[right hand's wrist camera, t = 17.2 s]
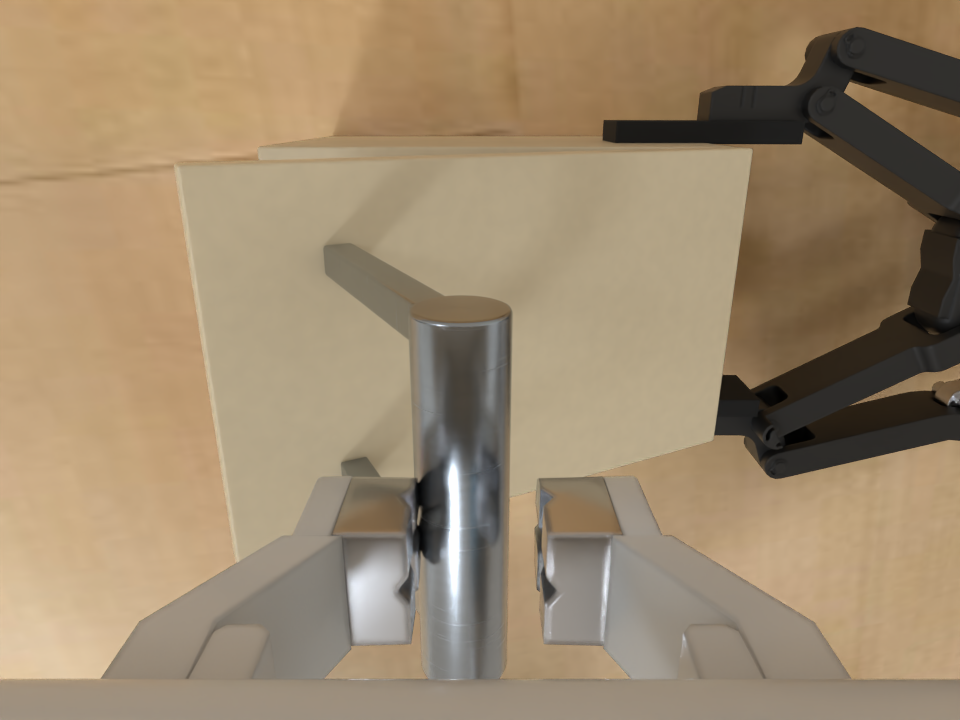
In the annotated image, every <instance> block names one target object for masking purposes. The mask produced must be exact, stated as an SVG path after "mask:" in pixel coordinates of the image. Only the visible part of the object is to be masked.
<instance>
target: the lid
mask: <svg viewBox="0 0 960 720" xmlns="http://www.w3.org/2000/svg"><path fill="white" fill-rule="evenodd" d="M752 154H753V149H751V148H742V147H708V148H673V149H638V150H603V151H568V152H533V153H498V154H463V155H428V156H393V157H358V158H323V159H287V160H252V161H217V162H182V163H176V164H175V165H174V171H175V177H176V184H177V190H178V197H179V203H180V210H181V216H182V222H183V229H184V235H185V242H186V248H187V255H188V261H189V268H190V274H191V281H192V287H193V293H194V300H195V306H196V313H197V319H198V326H199V332H200V339H201V345H202V352H203V358H204V365H205V371H206V377H207V384H208V390H209V397H210V403H211V410H212V416H213V423H214V429H215V436H216V442H217V448H218V455H219V461H220V468H221V474H222V481H223V487H224V494H225V500H226V507H227V513H228V519H229V526H230V532H231V539H232V545H233V552H234V556H235V560H236V563H238V562H239V561H241V560H243V559H244V558H246V557H248V556H249V555H251V554H253V553H254V552H256V551H257V550H259V549H261V548H262V547H264V546H266V545H267V544H269V543H271V542H272V541H274V540H276V539H277V538H279V537H281V536H289V535H292V534H293V532H294V530H295V528H296V525H297V523H298V521H299V519H300V517H301V514H302V512H303V510H304V508H305V505H306V503H307V501H308V499H309V497H310V494H311V492H312V490H313V488H314V485H315V483H316V481H317V479H318V478H320V477H325V476H352V477H405V478H418V487H419V512H418V519H417V524H418V525H419V528H420V535H421V565H420V579H419V588H418V590H417V591H416V592H415V607H416V610H417V612H418V613H419V615H420V633H421V658H422V667H423V671H424V673H425V675H426V676H427V678H428V679H499V678H500V677H501V675H502V674H503V672H504V670H505V667H506V661H507V608H508V551H509V498H511V497H514V496H518V495H522V494H525V493H529V492H532V491H536V486H537V479H538V478H569V477H586V476H589V475H593V474H596V473H600V472H604V471H607V470H611V469H614V468H618V467H621V466H625V465H629V464H632V463H636V462H639V461H643V460H646V459H650V458H654V457H657V456H661V455H664V454H668V453H671V452H675V451H679V450H682V449H686V448H689V447H693V446H696V445H700V444H704V443H707V442H711V441H713V439H714V433H715V425H716V418H717V411H718V403H719V396H720V389H721V381H722V374H723V367H724V359H725V352H726V345H727V337H728V330H729V323H730V315H731V308H732V301H733V293H734V286H735V279H736V271H737V264H738V257H739V249H740V242H741V235H742V227H743V220H744V213H745V205H746V198H747V191H748V183H749V176H750V169H751V161H752Z"/></svg>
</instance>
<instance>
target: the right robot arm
mask: <svg viewBox="0 0 960 720" xmlns="http://www.w3.org/2000/svg"><path fill="white" fill-rule="evenodd" d="M536 510H537V518H538V525H537V526H536V527H535V576H536V586H537V590H538V591H539V592H540V608H539V611H540V619H541V626H542V634H543V642H544V644H559V645H595V646H604V650H605V651H606V652H607V653H608V654H609V655H610V656H611V657H612V658H613V659H614V661H615V662H616V663H617V664H618V665H619V666H620V667H621V668H622V669H623V671H624V672H625V673H626V674H627V675H628V676H629V677H630V678H631V679H324V678H325V677H326V676H327V675H328V674H329V673H330V671H331V670H332V669H333V668H334V667H335V666H336V665H337V664H338V663H339V662H340V661H341V659H342V658H343V657H344V656H345V655H346V654H347V653H348V652H349V651H350V650H351V646H359V645H394V644H411V640H412V633H413V626H414V619H415V611H416V607H415V592H416V591H417V590H418V588H419V579H420V565H421V535H420V528H419V525H418V524H417V519H418V512H419V487H418V478H405V477H352V476H325V477H320V478H318V479H317V481H316V483H315V485H314V488H313V490H312V492H311V494H310V497H309V499H308V501H307V503H306V505H305V508H304V510H303V512H302V514H301V517H300V519H299V521H298V523H297V525H296V528H295V530H294V532H293V534H292V535H289V536H281V537H279V538H277V539H276V540H274V541H272V542H271V543H269V544H267V545H266V546H264V547H262V548H261V549H259V550H257V551H256V552H254V553H253V554H251V555H249V556H248V557H246V558H244V559H243V560H241V561H239V562H238V563H236V564H234V565H233V566H231V567H229V568H228V569H226V570H224V571H223V572H221V573H219V574H218V575H216V576H214V577H213V578H211V579H209V580H208V581H206V582H204V583H203V584H201V585H199V586H198V587H196V588H194V589H193V590H191V591H189V592H188V593H186V594H184V595H183V596H181V597H179V598H178V599H176V600H174V601H173V602H171V603H169V604H168V605H166V606H164V607H163V608H161V609H159V610H158V611H156V612H154V613H153V614H151V615H149V616H148V617H146V618H144V619H143V620H141V621H139V623H138V624H137V626H136V627H135V629H134V630H133V632H132V633H131V635H130V636H129V638H128V639H127V641H126V642H125V644H124V645H123V646H122V648H121V649H120V651H119V652H118V654H117V655H116V657H115V658H114V660H113V661H112V663H111V664H110V666H109V667H108V669H107V670H106V672H105V673H104V674H103V676H102V677H101V679H0V720H960V679H851V677H850V676H849V674H848V673H847V671H846V670H845V668H844V667H843V665H842V664H841V662H840V660H839V659H838V657H837V656H836V654H835V653H834V651H833V650H832V648H831V647H830V645H829V644H828V642H827V641H826V639H825V638H824V636H823V635H822V633H821V632H820V630H819V629H818V627H817V625H816V624H815V623H814V622H813V621H811V620H810V619H808V618H806V617H805V616H803V615H801V614H800V613H798V612H796V611H795V610H793V609H792V608H790V607H788V606H787V605H785V604H783V603H782V602H780V601H778V600H777V599H775V598H774V597H772V596H770V595H769V594H767V593H765V592H764V591H762V590H760V589H759V588H757V587H755V586H754V585H752V584H751V583H749V582H747V581H746V580H744V579H742V578H741V577H739V576H737V575H736V574H734V573H733V572H731V571H729V570H728V569H726V568H724V567H723V566H721V565H719V564H718V563H716V562H714V561H713V560H711V559H710V558H708V557H706V556H705V555H703V554H701V553H700V552H698V551H696V550H695V549H693V548H692V547H690V546H688V545H687V544H685V543H683V542H682V541H680V540H678V539H677V538H675V537H673V536H665V535H662V534H661V531H660V529H659V527H658V525H657V522H656V520H655V518H654V516H653V513H652V511H651V509H650V507H649V504H648V502H647V500H646V498H645V495H644V493H643V491H642V488H641V486H640V484H639V482H638V479H637V478H636V477H634V476H615V477H569V478H538V479H537V486H536Z"/></svg>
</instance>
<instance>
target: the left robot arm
mask: <svg viewBox="0 0 960 720" xmlns="http://www.w3.org/2000/svg"><path fill="white" fill-rule="evenodd" d="M849 82H852V83H855V84H858V85H862V86H865V87H868V88H871V89H874V90H877V91H880V92H883V93H886V94H890V95H893V96H896V97H899V98H902V99H905V100H908V101H911V102H914V103H917V104H921V105H924V106H927V107H930V108H933V109H936V110H939V111H942V112H945V113H948V114H952V115H955V116H958V117H960V59H957V58H954V57H951V56H948V55H945V54H942V53H939V52H935V51H932V50H929V49H926V48H923V47H920V46H917V45H914V44H911V43H908V42H905V41H902V40H899V39H896V38H893V37H890V36H887V35H884V34H881V33H878V32H875V31H872V30H869V29H866V28H861V27H855V28H851V29H847V30H843V31H838V32H834V33H830V34H825V35H821V36H818V37H816V38H814V39H813V40H812V41H811V42H810V43H809V45H808V46H807V48H806V52H805V63H804V65H803V67H802V69H801V72H800V73H799V75H798V76H797V78H796V79H795V80H794V81H793V82H791V83H790V84H788V85H786V86H721V87H714V88H711V89H709V90H706V91H704V92H701V93H700V98H699V107H698V116H697V120H604V124H603V141H608V142H612V143H709V144H802V139H803V132H804V133H806V134H807V135H809V136H810V137H812V138H813V139H815V140H816V141H818V142H819V143H821V144H822V145H824V146H825V147H827V148H828V149H830V150H831V151H833V152H834V153H836V154H837V155H839V156H840V157H842V158H844V159H845V160H847V161H848V162H850V163H851V164H853V165H854V166H856V167H857V168H859V169H860V170H862V171H863V172H865V173H866V174H868V175H869V176H871V177H872V178H874V179H875V180H877V181H878V182H880V183H881V184H883V185H884V186H886V187H888V188H889V189H891V190H892V191H894V192H895V193H897V194H898V195H900V196H901V197H903V198H904V199H906V200H907V201H908V204H909V205H910V206H911V207H913V208H914V209H916V210H917V211H919V212H920V213H922V214H923V215H925V216H926V217H928V218H930V219H931V220H933V221H934V222H936V223H935V225H934V226H933V228H932V230H925V231H924V236H923V240H922V244H921V248H920V250H921V269H920V271H919V273H918V275H917V277H916V279H915V281H914V283H913V285H912V287H911V291H910V295H909V300H908V304H907V305H910V306H911V307H909V308H907V309H905V310H903V311H901V312H899V313H897V314H894V315H892V316H890V317H888V318H886V319H885V320H883V321H882V322H881V324H880V327H879V328H878V329H877V330H875V331H873V332H871V333H868V334H866V335H864V336H862V337H860V338H858V339H856V340H854V341H852V342H850V343H847V344H845V345H843V346H841V347H839V348H837V349H835V350H833V351H831V352H828V353H826V354H824V355H822V356H820V357H818V358H816V359H814V360H812V361H810V362H807V363H805V364H803V365H801V366H799V367H797V368H795V369H793V370H791V371H789V372H786V373H784V374H782V375H780V376H778V377H776V378H774V379H772V380H770V381H768V382H765V383H763V384H761V385H759V386H757V387H755V388H753V389H751V390H750V389H749V388H748V387H747V386H746V385H745V384H744V383H743V382H742V381H741V380H740V379H739V378H738V377H737V376H736V375H722V381H721V389H720V396H719V403H718V411H717V418H716V425H715V433H714V435H742V436H745V438H744V444H745V447H746V448H747V450H748V451H749V452H750V453H751V455H752V456H753V457H754V458H755V460H756V461H757V462H758V464H759V465H760V466H761V467H762V469H763V470H764V471H765V473H766V474H767V475H768V476H770V477H771V478H775V479H778V478H785V477H789V476H793V475H798V474H802V473H806V472H811V471H815V470H819V469H824V468H828V467H833V466H837V465H841V464H846V463H850V462H854V461H859V460H863V459H867V458H872V457H876V456H880V455H885V454H889V453H893V452H898V451H902V450H907V449H911V448H915V447H920V446H924V445H928V444H933V443H937V442H941V441H946V440H958V441H960V379H958V380H955V381H949V382H946V383H944V382H941V381H939V382H936V383H935V384H934V385H933V387H932V391H915V392H908V393H902V394H898V395H893V396H889V397H885V398H881V399H877V400H872V401H868V402H864V403H860V404H856V405H851V404H854V403H856V402H858V401H860V400H862V399H865V398H867V397H869V396H871V395H873V394H875V393H878V392H880V391H882V390H884V389H886V388H889V387H891V386H893V385H895V384H897V383H899V382H902V381H904V380H906V379H908V378H910V377H913V376H915V375H917V374H919V373H922V372H940V371H943V370H946V369H948V368H950V367H953V366H955V365H957V364H959V363H960V171H958V170H957V169H955V168H954V167H952V166H951V165H949V164H948V163H947V162H945V161H944V160H942V159H941V158H939V157H938V156H936V155H935V154H933V153H932V152H930V151H929V150H927V149H926V148H924V147H923V146H922V145H920V144H919V143H917V142H916V141H914V140H913V139H911V138H910V137H908V136H907V135H905V134H904V133H902V132H901V131H899V130H898V129H897V128H895V127H894V126H892V125H891V124H889V123H888V122H886V121H885V120H883V119H882V118H880V117H879V116H877V115H876V114H875V113H873V112H872V111H870V110H869V109H867V108H866V107H864V106H863V105H861V104H860V103H858V102H857V101H855V100H854V99H852V98H851V97H850V96H848V95H847V94H845V93H844V91H845V89H846V87H847V85H848V83H849ZM928 332H929V333H928ZM849 405H851V406H849Z"/></svg>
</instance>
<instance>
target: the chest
mask: <svg viewBox="0 0 960 720" xmlns="http://www.w3.org/2000/svg"><path fill="white" fill-rule="evenodd" d="M708 147H732V146H725V145H717V144H709V143H612V142H608V141H603V136H329V137H323V138H316V139H309V140H302V141H295V142H288V143H281V144H274V145H267V146H260V147H258V159H259V160H287V159H323V158H358V157H393V156H428V155H463V154H498V153H533V152H568V151H603V150H638V149H673V148H708Z"/></svg>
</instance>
